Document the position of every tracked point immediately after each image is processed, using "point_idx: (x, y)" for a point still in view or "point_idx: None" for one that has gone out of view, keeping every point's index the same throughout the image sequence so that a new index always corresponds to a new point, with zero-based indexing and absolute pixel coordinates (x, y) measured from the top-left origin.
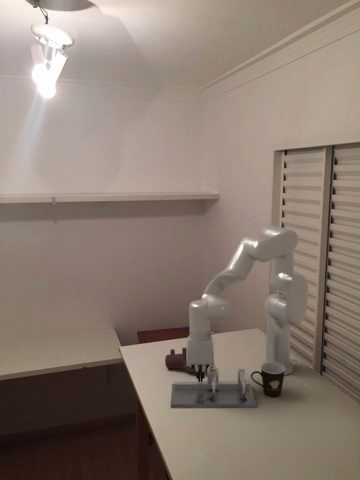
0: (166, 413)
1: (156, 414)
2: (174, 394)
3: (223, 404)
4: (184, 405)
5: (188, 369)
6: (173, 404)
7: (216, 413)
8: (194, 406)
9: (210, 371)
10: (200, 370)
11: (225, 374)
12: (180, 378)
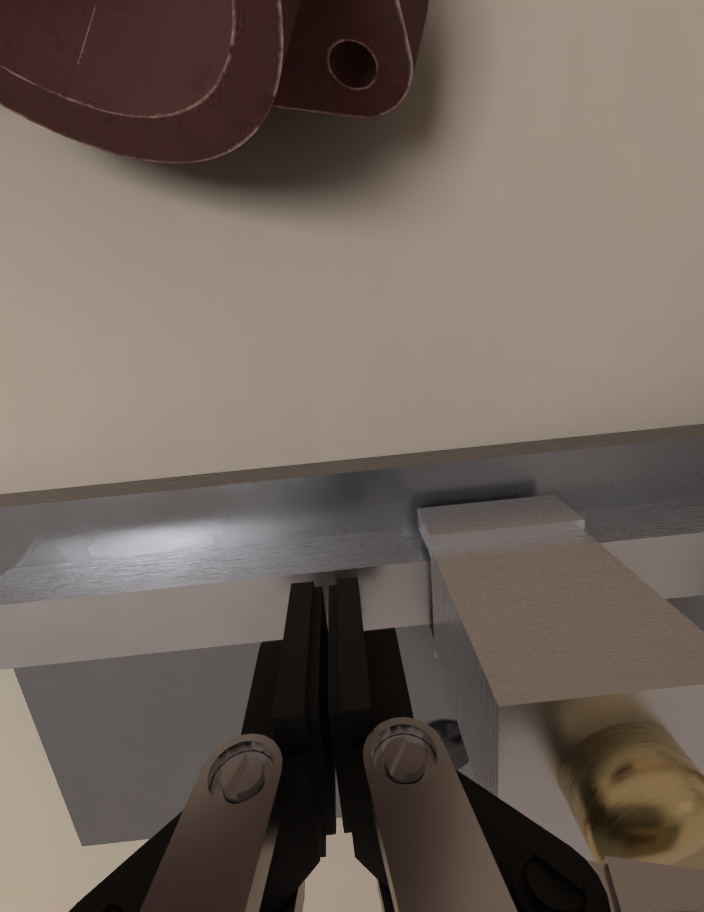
0: (89, 872)
1: (14, 890)
2: (65, 710)
3: None
4: None
5: (56, 125)
6: (109, 841)
7: None
8: None
9: (559, 829)
10: (337, 770)
11: (676, 91)
12: (18, 279)
